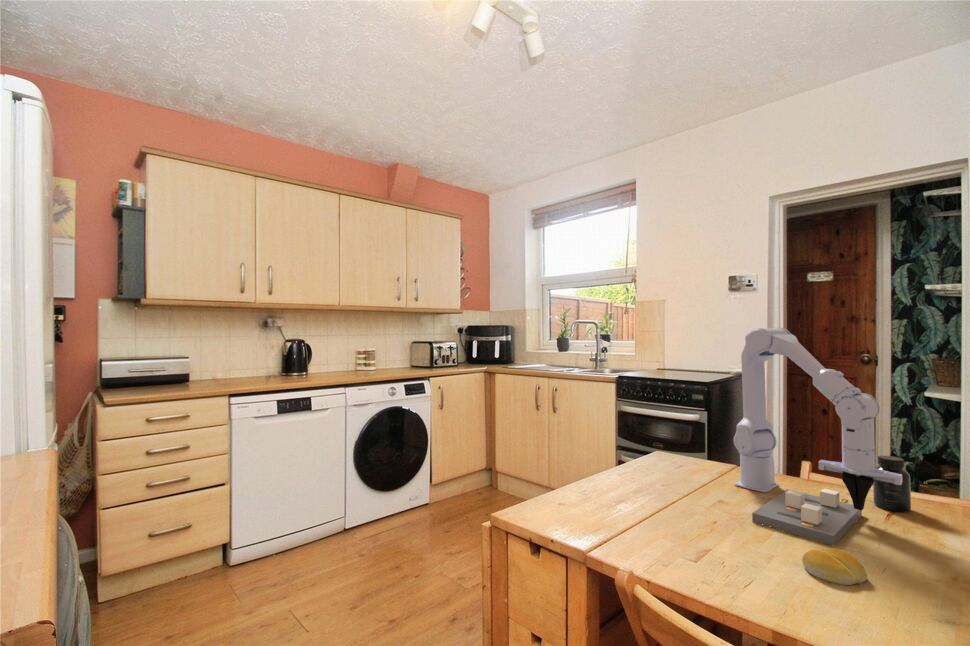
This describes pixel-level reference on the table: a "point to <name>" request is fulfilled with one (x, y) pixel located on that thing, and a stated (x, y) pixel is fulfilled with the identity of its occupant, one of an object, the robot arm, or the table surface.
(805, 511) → the block
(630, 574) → the table surface
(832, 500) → the block
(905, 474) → the supplement bottle
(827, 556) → the bread roll
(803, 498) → the slider middle
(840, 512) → the switch panel
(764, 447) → the robot arm
